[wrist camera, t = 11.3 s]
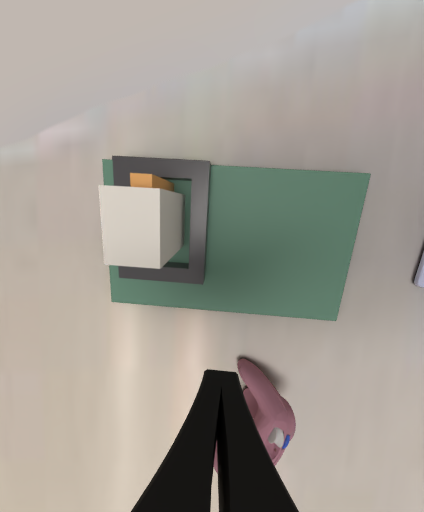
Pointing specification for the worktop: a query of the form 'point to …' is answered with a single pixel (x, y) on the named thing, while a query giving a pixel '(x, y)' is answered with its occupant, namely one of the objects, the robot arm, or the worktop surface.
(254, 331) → the worktop surface
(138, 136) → the worktop surface
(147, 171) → the frame
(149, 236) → the plug
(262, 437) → the pink toy figure
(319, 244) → the circuit board
